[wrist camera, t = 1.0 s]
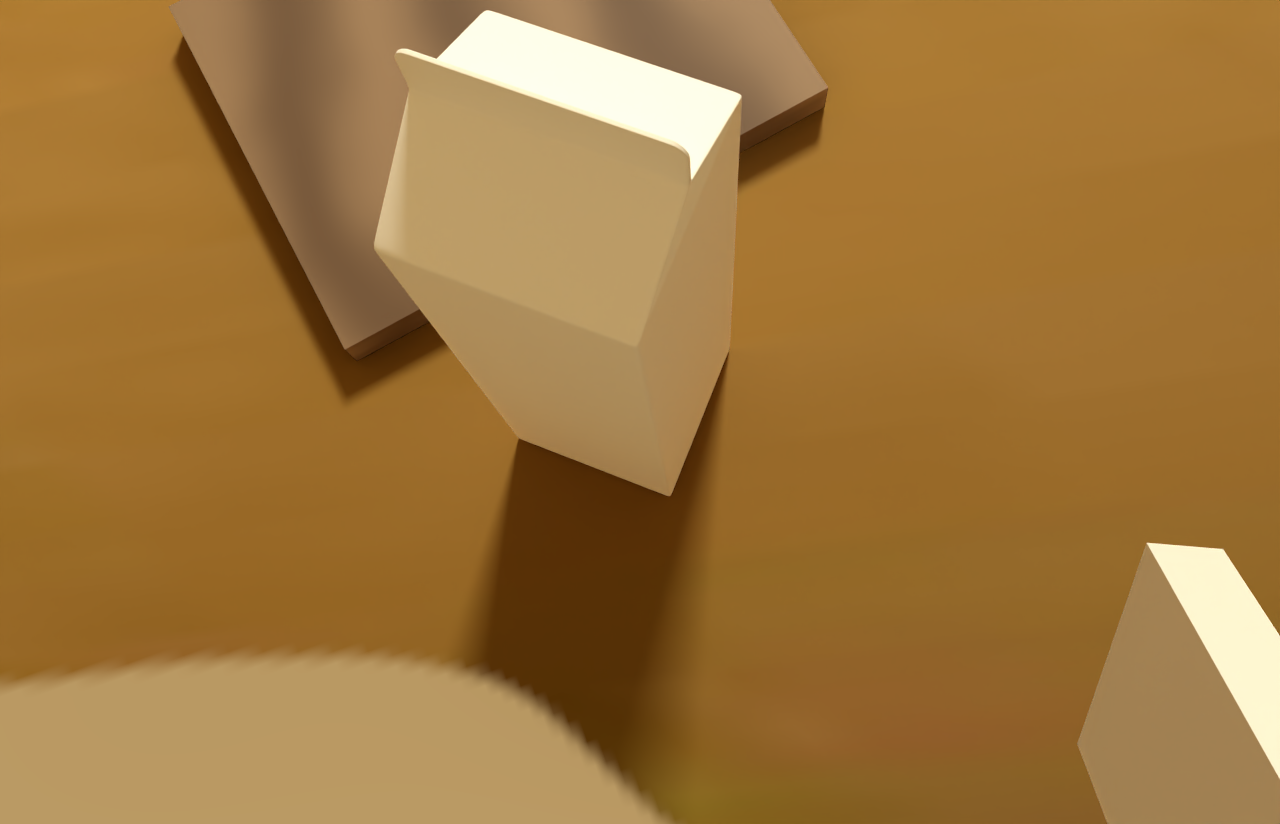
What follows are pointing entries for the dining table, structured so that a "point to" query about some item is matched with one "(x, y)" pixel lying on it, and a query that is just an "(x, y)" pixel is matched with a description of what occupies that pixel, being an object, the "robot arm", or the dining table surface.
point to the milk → (570, 237)
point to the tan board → (377, 93)
